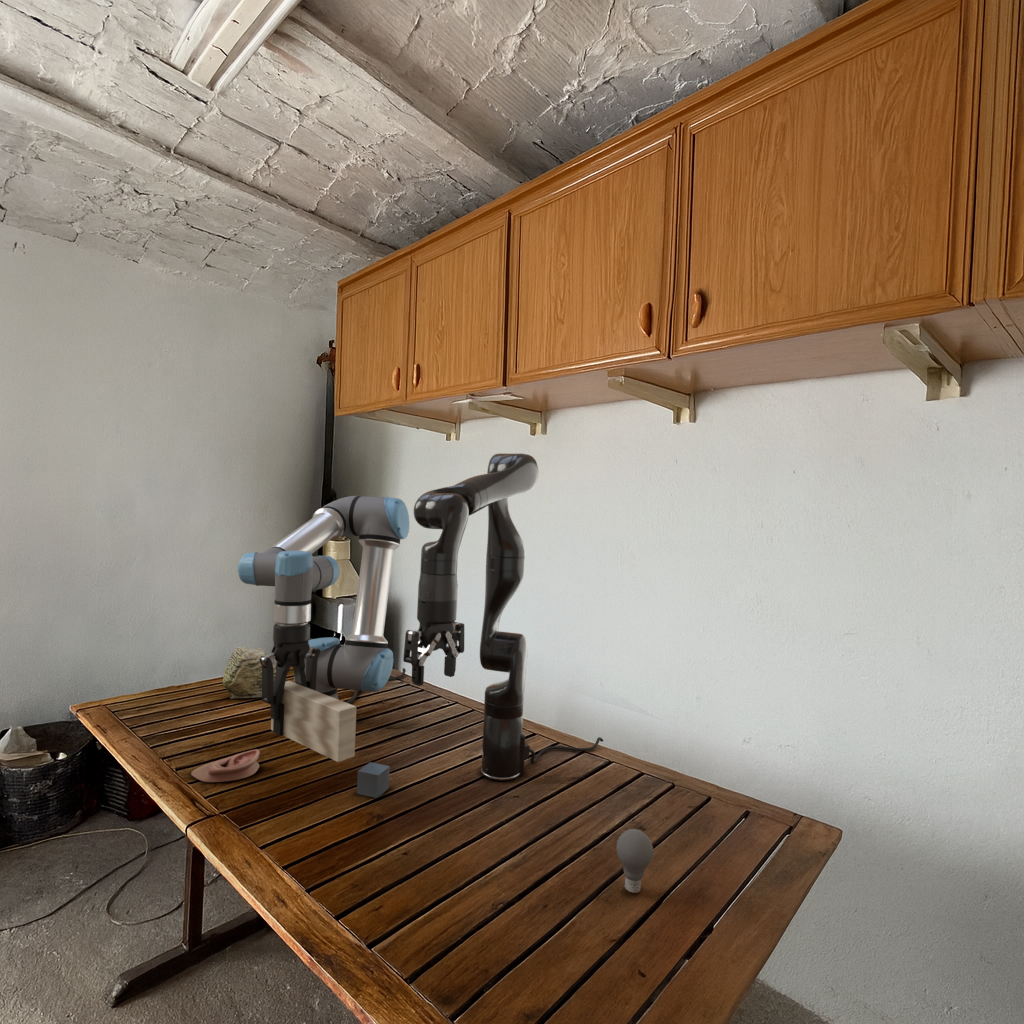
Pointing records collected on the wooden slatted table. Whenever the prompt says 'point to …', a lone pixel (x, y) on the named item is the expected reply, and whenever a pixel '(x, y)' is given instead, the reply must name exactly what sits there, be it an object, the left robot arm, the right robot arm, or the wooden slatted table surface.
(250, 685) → the fossil
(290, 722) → the ash block
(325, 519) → the left robot arm
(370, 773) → the slate cube
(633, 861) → the light bulb
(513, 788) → the wooden slatted table surface
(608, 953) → the wooden slatted table surface
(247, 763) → the anatomical model
